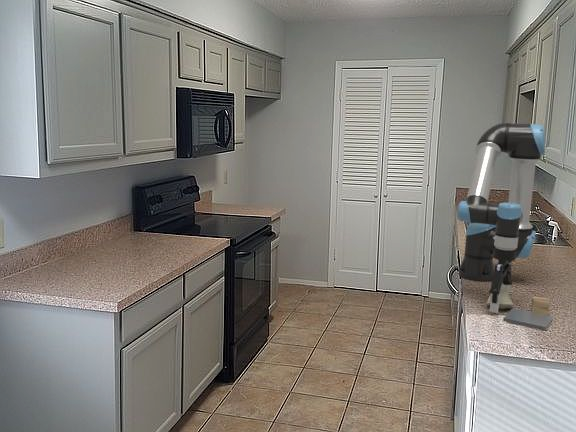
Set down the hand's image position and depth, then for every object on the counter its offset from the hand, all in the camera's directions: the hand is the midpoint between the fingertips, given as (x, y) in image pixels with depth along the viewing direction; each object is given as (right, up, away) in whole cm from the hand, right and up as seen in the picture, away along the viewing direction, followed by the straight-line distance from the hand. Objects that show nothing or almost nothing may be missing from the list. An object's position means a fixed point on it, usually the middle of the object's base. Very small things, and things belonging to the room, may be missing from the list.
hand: (498, 306), depth 201 cm
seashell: (+1, -1, 0) cm, 1 cm away
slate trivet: (+6, -3, -11) cm, 13 cm away
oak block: (+13, -2, -2) cm, 13 cm away
